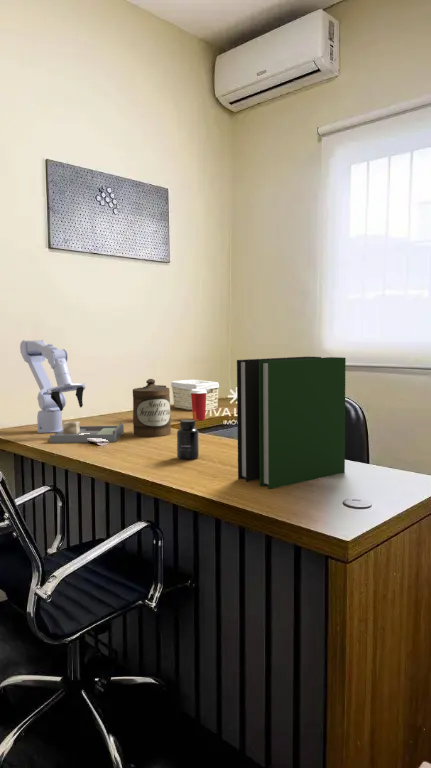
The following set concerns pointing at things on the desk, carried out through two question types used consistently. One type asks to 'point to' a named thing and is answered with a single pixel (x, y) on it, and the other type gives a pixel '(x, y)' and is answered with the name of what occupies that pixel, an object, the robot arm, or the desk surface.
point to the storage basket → (184, 396)
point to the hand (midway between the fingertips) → (71, 408)
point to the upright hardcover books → (290, 419)
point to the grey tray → (95, 432)
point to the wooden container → (151, 410)
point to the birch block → (71, 427)
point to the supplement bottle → (187, 440)
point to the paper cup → (198, 404)
